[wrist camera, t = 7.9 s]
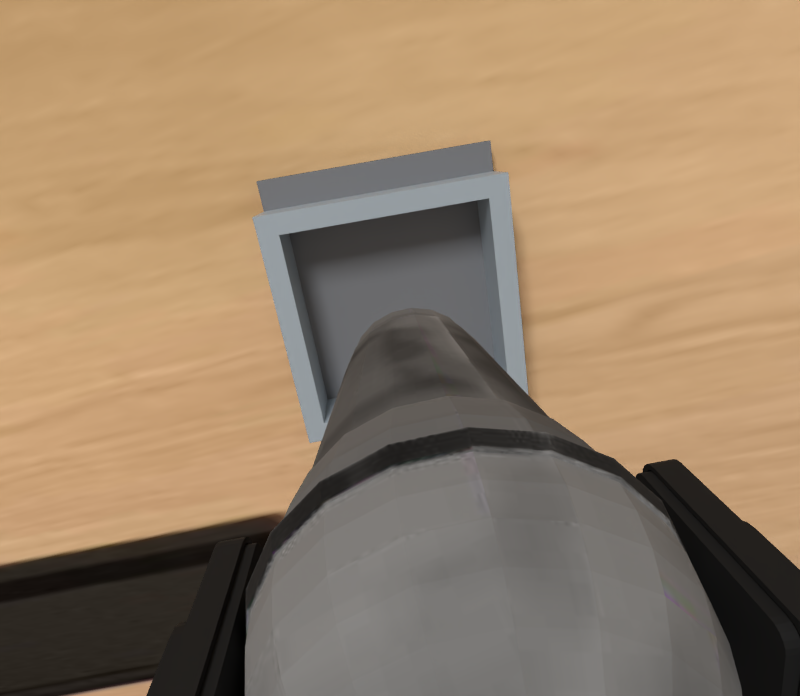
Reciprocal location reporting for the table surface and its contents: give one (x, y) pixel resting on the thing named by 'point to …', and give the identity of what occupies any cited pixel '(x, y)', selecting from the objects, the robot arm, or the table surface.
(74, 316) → the table surface
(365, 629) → the beverage cup
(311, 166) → the table surface
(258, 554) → the robot arm
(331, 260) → the blue-grey tray
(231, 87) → the table surface
